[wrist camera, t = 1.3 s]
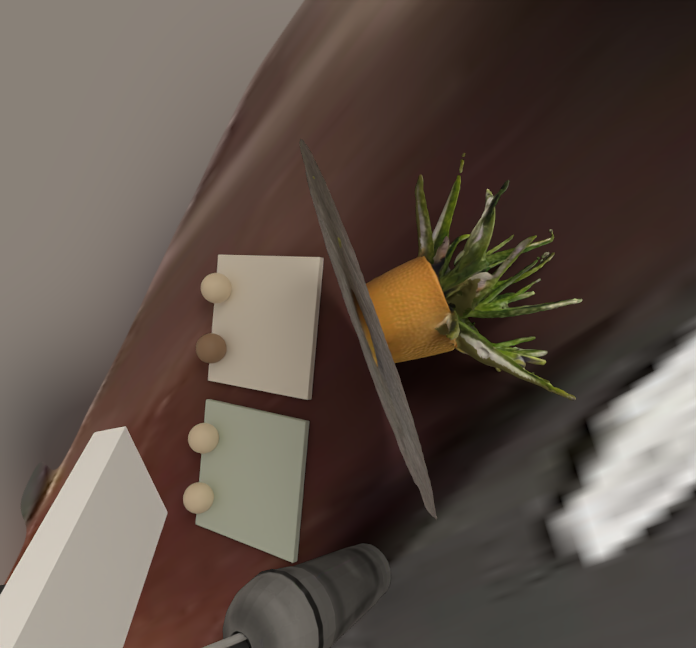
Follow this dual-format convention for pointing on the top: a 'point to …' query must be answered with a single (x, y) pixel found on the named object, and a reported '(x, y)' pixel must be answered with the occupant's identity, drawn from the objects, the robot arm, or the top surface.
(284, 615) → the beverage cup
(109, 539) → the robot arm
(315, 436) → the top surface
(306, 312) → the cream card
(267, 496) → the sage card
